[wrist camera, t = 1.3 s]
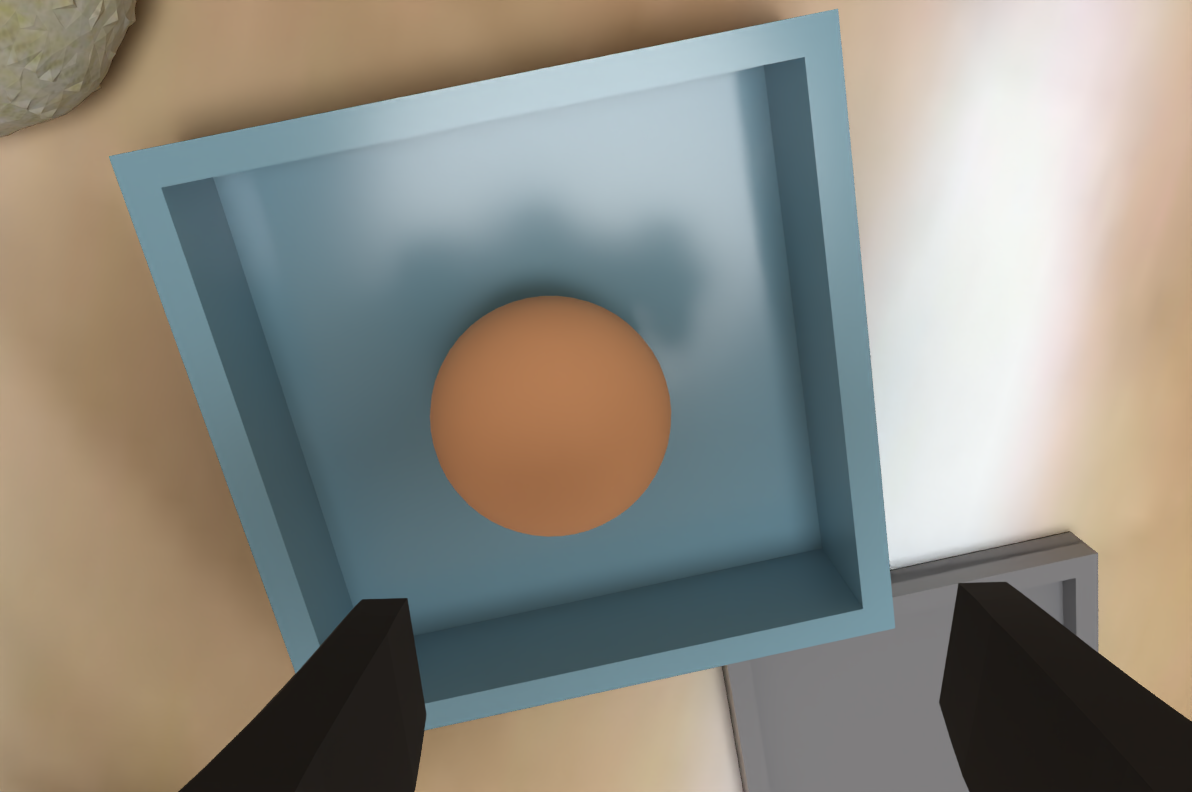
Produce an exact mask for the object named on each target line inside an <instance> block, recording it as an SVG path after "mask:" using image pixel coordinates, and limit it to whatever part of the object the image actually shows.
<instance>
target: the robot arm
mask: <svg viewBox="0 0 1192 792" xmlns="http://www.w3.org/2000/svg"><path fill="white" fill-rule="evenodd" d="M939 704H940V708H941V711H942V714H943V717H944V721H945V724H946V727H947V730H948V734H949V737H950V740H951V743H952V746H953V749H954V752H955V755H956V758H957V761H958V764H959V767H960V770H961V773H962V776H963V779H964V781H965V783H966V785H967V788H968V790H969V792H1192V721H1190V720H1189V719H1187V718H1186V717H1184V716H1183V715H1182V714H1180V713H1179V712H1177V711H1176V710H1175V709H1173V708H1172V707H1170V706H1169V705H1168V704H1166V703H1165V702H1163V701H1162V700H1161V699H1159V698H1158V697H1156V696H1155V695H1154V694H1152V693H1151V692H1150V691H1148V690H1147V689H1146V688H1144V687H1143V686H1142V685H1140V684H1139V683H1137V682H1136V681H1135V680H1134V679H1132V678H1131V677H1130V676H1128V675H1127V674H1126V673H1124V672H1123V671H1122V670H1120V669H1119V668H1118V667H1116V666H1115V665H1114V664H1112V663H1111V662H1110V661H1108V660H1107V659H1106V658H1105V657H1103V656H1102V655H1101V654H1099V653H1098V652H1097V651H1095V650H1094V649H1093V648H1092V647H1090V646H1089V645H1088V644H1087V643H1085V642H1084V641H1083V640H1081V639H1080V638H1079V637H1078V636H1076V635H1075V634H1074V633H1072V632H1071V631H1070V630H1069V629H1067V628H1066V627H1065V626H1064V625H1062V624H1061V623H1060V622H1058V621H1057V620H1056V619H1055V618H1053V617H1052V616H1051V615H1049V614H1048V613H1047V612H1046V611H1044V610H1043V609H1042V608H1041V607H1039V606H1038V605H1037V604H1035V603H1034V602H1033V601H1032V600H1030V599H1029V598H1028V597H1026V596H1025V595H1024V594H1022V593H1021V592H1020V591H1018V590H1017V589H1016V588H1014V587H1013V586H1011V585H1010V584H1009V583H1007V582H976V583H958V589H957V595H956V601H955V607H954V613H953V620H952V626H951V632H950V638H949V644H948V650H947V656H946V662H945V669H944V675H943V681H942V687H941V693H940V699H939ZM426 716H427V714H426V708H425V702H424V696H423V690H422V684H421V677H420V671H419V665H418V659H417V653H416V647H415V641H414V635H413V629H412V623H411V616H410V610H409V604H408V598H389V599H362V600H361V601H360V602H359V603H358V604H357V605H356V606H355V607H354V608H353V609H352V610H351V611H350V612H349V613H348V615H347V616H346V617H345V618H344V619H343V620H342V621H341V623H340V624H339V625H338V626H337V627H336V628H335V629H334V631H333V632H332V633H331V634H330V635H329V636H328V637H327V639H326V640H325V641H324V642H323V643H322V644H321V646H320V647H319V648H318V649H317V650H316V651H315V652H314V653H313V655H312V656H311V657H310V658H309V659H308V660H307V661H306V663H305V664H304V665H303V666H302V667H301V668H300V669H299V670H298V672H297V673H296V674H295V675H294V676H293V677H292V678H291V679H290V680H289V681H288V682H287V684H286V685H285V686H284V687H283V688H282V689H281V690H280V691H279V692H278V693H277V694H276V695H275V696H274V698H273V699H272V700H271V701H270V702H269V703H268V704H267V705H266V706H265V707H264V708H263V709H262V711H261V712H260V713H259V714H258V715H257V716H256V717H255V718H254V719H253V720H252V721H251V722H250V723H249V724H248V725H247V726H246V727H245V728H244V729H243V730H242V731H241V732H240V733H239V734H238V735H237V736H236V737H235V738H234V739H233V740H232V741H231V742H230V743H229V744H228V745H227V746H226V747H225V748H224V749H223V750H222V751H221V752H220V753H219V754H218V755H217V756H216V757H215V758H214V759H213V760H212V761H211V762H210V763H209V764H208V765H207V766H206V767H205V768H203V769H202V770H201V771H200V772H199V773H198V774H197V775H196V776H195V777H194V778H193V779H192V780H191V781H189V782H188V783H187V784H186V785H185V786H184V787H183V788H182V789H181V790H180V791H179V792H414V791H415V787H416V781H417V775H418V769H419V763H420V756H421V750H422V743H423V736H424V729H425V722H426Z"/></svg>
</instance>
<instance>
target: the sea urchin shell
mask: <svg viewBox="0 0 1192 792" xmlns="http://www.w3.org/2000/svg"><path fill="white" fill-rule="evenodd" d="M136 1H137V0H0V137H2V136H8V135H10V134H12V133H14V132H15V131H18V130H20V129H23V128H26V127H29V126H32V125H35V124H38V123H42V122H45V121H48V120H51V119H54V118H57V117H59V116H62V115H65V114H67V113H68V112H69V111H71V110H72V109H73V108H75V107H76V106H78V105H79V104H80V103H81V102H82V101H83V100H84V99H86V98H87V97H88V96H89V95H90V94H91V93H92V92H94V91H96V90H98V89H100V88H101V86H100V83H101V82H102V80H103V79H104V77H105V76H106V74H107V73H108V70H109V67H110V65H111V62H112V59H113V57H114V55H116V51H117V49H118V47H119V46H120V44H121V42H122V40H123V38H124V36H125V34H126V31H127V29H128V27H129V26H131V25H132V24H133V23H134V22H135V21H136V18H135V5H136Z"/></svg>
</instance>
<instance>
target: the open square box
mask: <svg viewBox="0 0 1192 792" xmlns="http://www.w3.org/2000/svg"><path fill="white" fill-rule="evenodd" d="M109 158H110V161H111V164H112V167H113V169H114V172H115V175H116V178H117V181H118V183H119V186H120V189H121V192H122V194H123V197H124V200H125V203H126V205H127V208H128V211H129V214H130V216H131V219H132V222H133V225H134V228H135V230H136V233H137V236H138V239H139V241H140V244H141V247H142V250H143V252H144V255H145V258H146V261H147V264H148V266H149V269H150V272H151V275H152V277H153V280H154V283H155V286H156V288H157V291H158V294H159V297H160V299H161V302H162V305H163V308H164V311H165V313H166V316H167V319H168V322H169V324H170V327H171V330H172V333H173V335H174V338H175V341H176V344H177V346H178V349H179V352H180V355H181V358H182V360H183V363H184V366H185V369H186V371H187V374H188V377H189V380H190V382H191V385H192V388H193V391H194V394H195V396H196V399H197V402H198V405H199V407H200V410H201V413H202V416H203V418H204V421H205V424H206V427H207V429H208V432H209V435H210V438H211V441H212V443H213V446H214V449H215V452H216V454H217V457H218V460H219V463H220V465H221V468H222V471H223V474H224V476H225V479H226V482H227V485H228V488H229V490H230V493H231V496H232V499H233V501H234V504H235V507H236V510H237V512H238V515H239V518H240V521H241V524H242V526H243V529H244V532H245V535H246V537H247V540H248V543H249V546H250V548H251V551H252V554H253V557H254V559H255V562H256V565H257V568H258V571H259V573H260V576H261V579H262V582H263V584H264V587H265V590H266V593H267V595H268V598H269V601H270V604H271V606H272V609H273V612H274V615H275V618H276V620H277V623H278V626H279V629H280V631H281V634H282V637H283V640H284V642H285V645H286V648H287V651H288V654H289V656H290V659H291V662H292V665H293V667H294V670H295V673H297V672H298V670H299V669H300V668H301V667H302V666H303V665H304V664H305V663H306V661H307V660H308V659H309V658H310V657H311V656H312V655H313V653H314V652H315V651H316V650H317V649H318V648H319V647H320V646H321V644H322V643H323V642H324V641H325V640H326V639H327V637H328V636H329V635H330V634H331V633H332V632H333V631H334V629H335V628H336V627H337V626H338V625H339V624H340V623H341V621H342V620H343V619H344V618H345V617H346V616H347V615H348V613H349V612H350V611H351V610H352V609H353V608H354V607H355V606H356V605H357V604H358V603H359V602H360V601H361V600H362V599H389V598H408V604H409V610H410V616H411V623H412V629H413V635H414V641H415V647H416V653H417V659H418V665H419V671H420V677H421V684H422V690H423V696H424V702H425V708H426V714H427V716H426V722H425V729H424V730H429V729H433V728H438V727H443V726H447V725H452V724H456V723H461V722H466V721H470V720H475V719H479V718H484V717H489V716H493V715H498V714H502V713H507V712H512V711H516V710H521V709H526V708H530V707H535V706H539V705H544V704H549V703H553V702H558V701H562V700H567V699H572V698H576V697H581V696H585V695H590V694H595V693H599V692H604V691H609V690H613V689H618V688H622V687H627V686H632V685H636V684H641V683H645V682H650V681H655V680H659V679H664V678H668V677H673V676H678V675H682V674H687V673H691V672H696V671H701V670H705V669H710V668H715V667H719V666H724V665H728V664H733V663H738V662H742V661H747V660H751V659H756V658H761V657H765V656H770V655H774V654H779V653H784V652H788V651H793V650H798V649H802V648H807V647H811V646H816V645H821V644H825V643H830V642H834V641H839V640H844V639H848V638H853V637H857V636H862V635H867V634H871V633H876V632H880V631H885V630H890V629H894V628H895V619H894V608H893V598H892V587H891V576H890V565H889V554H888V544H887V533H886V522H885V511H884V500H883V490H882V479H881V468H880V457H879V446H878V436H877V425H876V414H875V403H874V392H873V382H872V371H871V360H870V349H869V338H868V328H867V317H866V306H865V295H864V284H863V273H862V263H861V252H860V241H859V230H858V219H857V209H856V198H855V187H854V176H853V165H852V155H851V144H850V133H849V122H848V111H847V101H846V90H845V79H844V68H843V57H842V47H841V36H840V25H839V14H838V9H835V10H830V11H825V12H820V13H815V14H810V15H805V16H800V17H795V18H790V19H785V20H780V21H775V22H770V23H765V24H760V25H756V26H751V27H746V28H741V29H736V30H731V31H726V32H721V33H716V34H711V35H706V36H701V37H696V38H691V39H686V40H681V41H676V42H671V43H667V44H662V45H657V46H652V47H647V48H642V49H637V50H632V51H627V52H622V53H617V54H612V55H607V56H602V57H597V58H592V59H587V60H582V61H578V62H573V63H568V64H563V65H558V66H553V67H548V68H543V69H538V70H533V71H528V72H523V73H518V74H513V75H508V76H503V77H498V78H493V79H489V80H484V81H479V82H474V83H469V84H464V85H459V86H454V87H449V88H444V89H439V90H434V91H429V92H424V93H419V94H414V95H409V96H404V97H399V98H395V99H390V100H385V101H380V102H375V103H370V104H365V105H360V106H355V107H350V108H345V109H340V110H335V111H330V112H325V113H320V114H315V115H310V116H306V117H301V118H296V119H291V120H286V121H281V122H276V123H271V124H266V125H261V126H256V127H251V128H246V129H241V130H236V131H231V132H226V133H221V134H217V135H212V136H207V137H202V138H197V139H192V140H187V141H182V142H177V143H172V144H167V145H162V146H157V147H152V148H147V149H142V150H137V151H132V152H128V153H123V154H118V155H113V156H109ZM537 296H563V297H572V298H576V299H580V300H584V301H588V302H591V303H593V304H596V305H598V306H601V307H603V308H605V309H607V310H609V311H610V312H612V313H614V314H616V315H617V316H619V317H620V318H621V319H623V320H624V321H625V322H627V323H628V324H629V325H630V326H631V327H632V328H633V329H634V330H635V331H636V332H637V333H638V334H639V335H640V336H641V337H642V338H643V339H644V341H645V342H646V343H647V345H648V346H649V347H650V349H651V350H652V351H653V353H654V355H655V357H656V358H657V360H658V362H659V364H660V367H661V369H662V372H663V374H664V377H665V380H666V383H667V387H668V391H669V395H670V404H671V428H670V435H669V441H668V446H667V449H666V452H665V455H664V459H663V461H662V463H661V465H660V467H659V469H658V472H657V473H656V475H655V477H654V479H653V480H652V482H651V483H650V485H649V486H648V488H647V489H646V490H645V492H644V493H643V494H642V495H641V496H640V497H639V499H638V500H637V501H636V502H634V503H633V504H632V505H631V506H630V507H629V508H628V509H627V510H625V511H624V512H623V513H621V514H620V515H618V516H617V517H616V518H614V519H612V520H610V521H608V522H607V523H605V524H603V525H601V526H598V527H596V528H593V529H591V530H588V531H585V532H581V533H577V534H572V535H566V536H551V537H547V536H535V535H529V534H524V533H520V532H516V531H513V530H510V529H507V528H504V527H502V526H500V525H498V524H496V523H494V522H492V521H490V520H489V519H487V518H485V517H484V516H482V515H481V514H479V513H478V512H477V511H476V510H474V509H473V508H472V507H471V506H470V505H468V504H467V502H466V501H465V500H464V499H463V498H462V497H461V496H460V495H459V494H458V493H457V491H456V490H455V489H454V488H453V486H452V485H451V483H450V482H449V480H448V479H447V477H446V475H445V473H444V471H443V470H442V468H441V466H440V463H439V460H438V457H437V454H436V452H435V449H434V445H433V440H432V435H431V427H430V408H431V397H432V392H433V388H434V383H435V380H436V377H437V375H438V372H439V369H440V367H441V365H442V363H443V361H444V360H445V358H446V356H447V354H448V352H449V350H450V349H451V348H452V346H453V345H454V344H455V342H456V341H457V340H458V338H459V337H460V336H461V335H462V334H463V333H464V332H465V331H466V330H467V329H468V328H469V327H470V326H471V325H472V324H474V323H475V322H476V321H478V320H479V319H480V318H481V317H483V316H484V315H486V314H488V313H490V312H491V311H493V310H495V309H497V308H499V307H501V306H504V305H506V304H508V303H511V302H514V301H518V300H521V299H525V298H530V297H537Z"/></svg>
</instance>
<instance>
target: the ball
mask: <svg viewBox="0 0 1192 792" xmlns="http://www.w3.org/2000/svg"><path fill="white" fill-rule="evenodd" d="M430 427H431V435H432V440H433V445H434V449H435V452H436V454H437V457H438V460H439V463H440V466H441V468H442V470H443V471H444V473H445V475H446V477H447V479H448V480H449V482H450V483H451V485H452V486H453V488H454V489H455V490H456V491H457V493H458V494H459V495H460V496H461V497H462V498H463V499H464V500H465V501H466V502H467V504H468V505H470V506H471V507H472V508H473V509H474V510H476V511H477V512H478V513H479V514H481V515H482V516H484V517H485V518H487V519H489V520H490V521H492V522H494V523H496V524H498V525H500V526H502V527H504V528H507V529H510V530H513V531H516V532H520V533H524V534H529V535H535V536H547V537H551V536H566V535H572V534H577V533H581V532H585V531H588V530H591V529H593V528H596V527H598V526H601V525H603V524H605V523H607V522H608V521H610V520H612V519H614V518H616V517H617V516H618V515H620V514H621V513H623V512H624V511H625V510H627V509H628V508H629V507H630V506H631V505H632V504H633V503H634V502H636V501H637V500H638V499H639V497H640V496H641V495H642V494H643V493H644V492H645V490H646V489H647V488H648V486H649V485H650V483H651V482H652V480H653V479H654V477H655V475H656V473H657V472H658V469H659V467H660V465H661V463H662V461H663V459H664V455H665V452H666V449H667V446H668V441H669V435H670V428H671V404H670V395H669V391H668V387H667V383H666V380H665V377H664V374H663V372H662V369H661V367H660V364H659V362H658V360H657V358H656V357H655V355H654V353H653V351H652V350H651V349H650V347H649V346H648V345H647V343H646V342H645V341H644V339H643V338H642V337H641V336H640V335H639V334H638V333H637V332H636V331H635V330H634V329H633V328H632V327H631V326H630V325H629V324H628V323H627V322H625V321H624V320H623V319H621V318H620V317H619V316H617V315H616V314H614V313H612V312H610V311H609V310H607V309H605V308H603V307H601V306H598V305H596V304H593V303H591V302H588V301H584V300H580V299H576V298H572V297H563V296H537V297H530V298H525V299H521V300H518V301H514V302H511V303H508V304H506V305H504V306H501V307H499V308H497V309H495V310H493V311H491V312H490V313H488V314H486V315H484V316H483V317H481V318H480V319H479V320H478V321H476V322H475V323H474V324H472V325H471V326H470V327H469V328H468V329H467V330H466V331H465V332H464V333H463V334H462V335H461V336H460V337H459V338H458V340H457V341H456V342H455V344H454V345H453V346H452V348H451V349H450V350H449V352H448V354H447V356H446V358H445V360H444V361H443V363H442V365H441V367H440V369H439V372H438V375H437V377H436V380H435V383H434V388H433V392H432V397H431V408H430Z"/></svg>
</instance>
